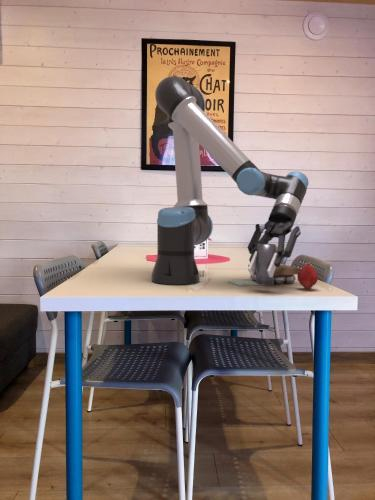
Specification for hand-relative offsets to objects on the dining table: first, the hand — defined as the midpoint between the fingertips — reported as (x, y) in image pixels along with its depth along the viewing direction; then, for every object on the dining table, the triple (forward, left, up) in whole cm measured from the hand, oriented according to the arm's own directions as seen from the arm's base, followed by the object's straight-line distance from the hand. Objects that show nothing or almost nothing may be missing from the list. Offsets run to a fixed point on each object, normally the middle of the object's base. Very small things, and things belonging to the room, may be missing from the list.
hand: (260, 272), depth 125 cm
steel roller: (+3, +2, -3) cm, 5 cm away
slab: (+15, +16, -3) cm, 22 cm away
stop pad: (+4, +16, -6) cm, 18 cm away
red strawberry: (+17, +1, -6) cm, 18 cm away
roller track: (+15, +16, -6) cm, 23 cm away
